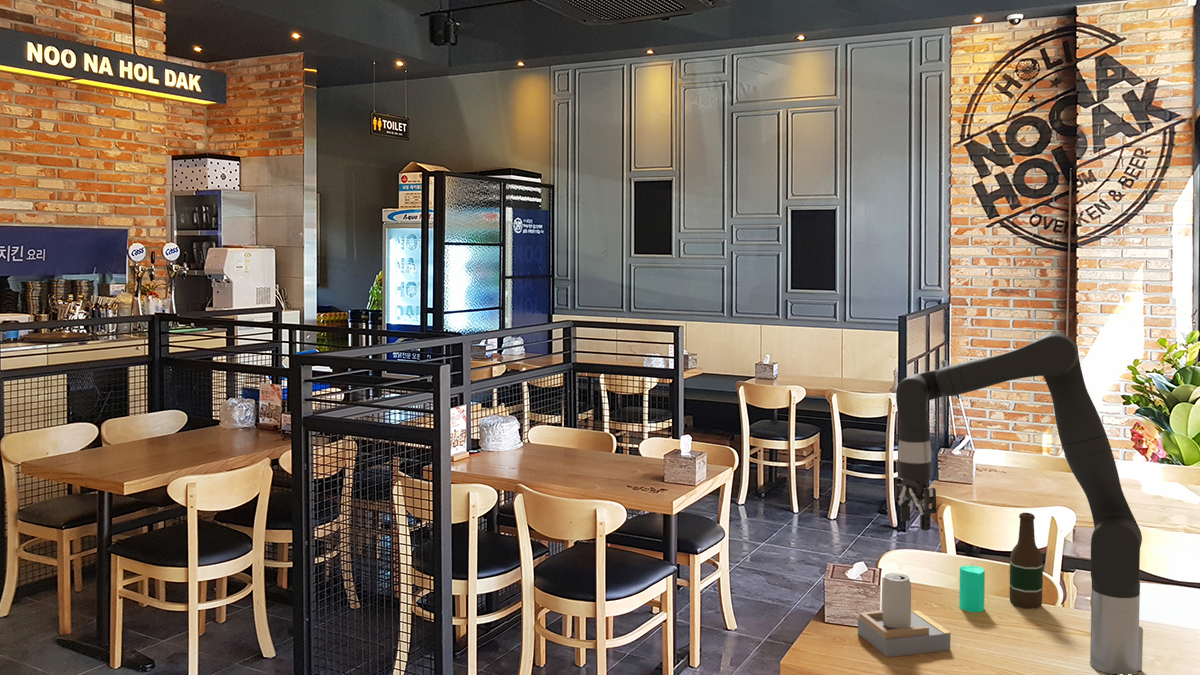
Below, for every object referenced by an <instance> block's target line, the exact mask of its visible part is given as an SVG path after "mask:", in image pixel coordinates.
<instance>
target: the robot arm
mask: <svg viewBox="0 0 1200 675" xmlns="http://www.w3.org/2000/svg"><path fill="white" fill-rule="evenodd" d="M1079 356H1080V355H1079V349H1078V346H1077V343H1075V341H1074V340H1073V339H1072V338H1071V337H1070V336H1067V335H1066V334H1065V333H1060V332H1050V333H1047V334H1044V335H1042V336H1041V337H1039V338H1038V339H1037V340H1035V341H1034V342H1031V343H1029V344H1026V345H1025V346H1021V347H1020V348H1017V349H1014V350H1011V351H1007V352H1004V353H1000V354H996V355H993V356H985V357H981V358H975V359H971V360H967V361H963V362H958V363H955V364H954V363H953V364H951V365H948V366H947V365H946V366H944V367H941V368H939V369H934V370H929V371H923V372H920V373H915V374H911V375H909V376H907V377H905V378H903V379H902V380H900V381H899V383H898V384H897V386H896V390H895V392H896V393H895V400H896V409H897V416H898V420H899V421H898V447H897V467H898V468H897V470H898V471H897V472H898V475H897V476H898V477H895V478H894V501H895V502H898V505H899V506H900V521H901V522H910V521H911V505H910V504H911V502H913V503H914V505H915V506H916V507H917V508H918V510H919V513H920V514H919V519H920V520H919V522H920V525H919V526H920V527H919V528H920V530H922V531H929V530H931V515H933V514H937V512H938V511H937V510H938V509H937V491H936V490H937V489H936V488H935V487H929V486H928V483H927V482H928V481H929V480H930V479H931V478H932V449H931V448H932V447H931V434H930V433H931V429H930V426H931V425H930V421H929V418H928V415H927V414H928V413H927V410H928V409H927V408H928V407H927V402H928V401H931V400H935V399H939V398H943V397H954V396H958V395H963V394H967V393H972V392H974V391H979V390H981V389H984V388H989V387H992V386H994V385H999V384H1002V383H1006V382H1008V381H1009V382H1010V381H1015V380H1019V379H1025V378H1034V377H1042V376H1043V379H1044V380H1045V383H1046V386H1047V388H1048V390H1049V393H1050V396H1051V399H1052V404H1053V410H1054V416H1055V417H1054V418H1055V423H1056V428H1057V434H1058V437H1059V438H1058V439H1059V441H1060V444H1061V448H1062V450H1063V453H1064V456H1065V459H1066V462H1067V465H1068V466H1069V468H1070V470H1071V472H1072V474H1073V475H1074V477H1075V480H1076V481H1077V482H1078V485H1079V486H1080V487H1081V489H1082V491H1083V493H1084V494H1085V496H1086V499H1087V502H1088V505H1089V509H1090V512H1091V517H1092V521H1093V528H1094V530H1093V532H1092V535H1091V539H1090V578H1091V601H1090V602H1091V605H1090V606H1091V608H1090V646H1089V648H1090V655H1089V656H1090V657H1089V664H1090V666H1091V667H1092V668H1094V669H1095V670H1096V671H1097V670H1098V671H1099V672H1101V671H1102V672H1101V673H1104V672H1105V674H1108V673H1111V674H1110V675H1112V674H1119V675H1120V674H1123V675H1128V674H1134V673H1136V672H1137V673H1138V672H1140V671H1139V670H1141V671H1143V647H1144V646H1143V644H1144V643H1143V642H1144V641H1143V640H1144V629H1143V627H1142V626H1140V609H1141V608H1140V606H1141V605H1140V603H1141V602H1140V600H1141V599H1140V598H1141V582H1140V581H1141V580H1140V567H1141V566H1140V562H1141V560H1140V559H1141V547H1142V543H1143V536H1142V532H1141V529H1140V526H1139V524H1138V522H1137V521H1136V519H1135V516H1134V514H1133V512H1132V510H1131V507H1130V505H1129V504H1128V501H1127V499H1126V496H1125V494H1124V492H1123V491H1124V490H1123V489H1122V485H1121V480H1120V477H1119V476H1120V475H1119V473H1118V472H1119V471H1118V468H1117V464H1116V461H1115V457H1114V454H1113V450H1112V447H1111V444H1110V441H1109V438H1108V435H1107V432H1106V430H1105V427H1104V425H1103V422H1102V420H1101V417H1100V416H1099V413H1098V410H1097V409H1096V406H1095V404H1094V402H1093V400H1092V398H1091V395H1090V394H1089V390H1088V389H1087V386H1086V383H1085V379H1084V375H1083V371H1082V366H1081V362H1080V357H1079ZM930 504H931V505H930ZM1137 673H1136V674H1137ZM1134 675H1135V674H1134Z"/></svg>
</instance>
